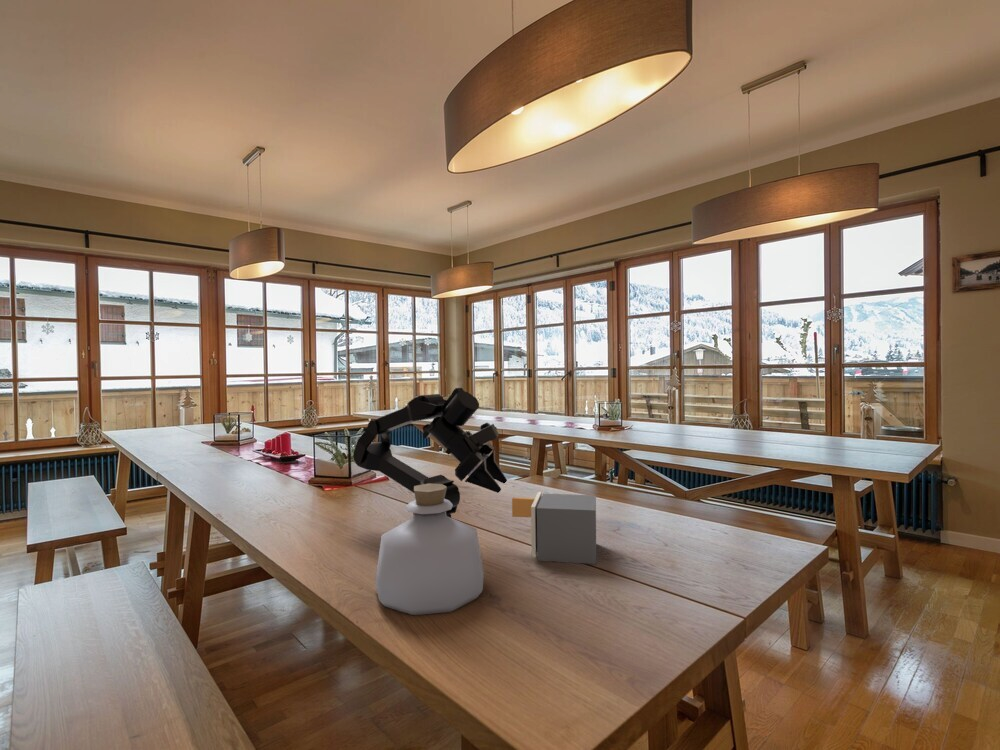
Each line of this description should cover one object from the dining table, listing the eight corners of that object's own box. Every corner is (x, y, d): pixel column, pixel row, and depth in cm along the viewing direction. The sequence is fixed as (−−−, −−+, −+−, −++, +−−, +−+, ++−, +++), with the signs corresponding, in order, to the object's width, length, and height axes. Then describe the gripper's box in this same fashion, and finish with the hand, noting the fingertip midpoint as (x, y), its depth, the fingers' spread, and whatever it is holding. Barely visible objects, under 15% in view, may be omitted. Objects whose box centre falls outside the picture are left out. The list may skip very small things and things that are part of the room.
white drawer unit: (508, 555, 105) (507, 505, 104) (517, 535, 117) (517, 490, 117) (588, 560, 101) (587, 509, 101) (589, 538, 114) (588, 493, 114)
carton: (537, 560, 104) (536, 508, 104) (543, 540, 116) (543, 493, 115) (596, 564, 102) (595, 510, 101) (596, 543, 113) (595, 495, 113)
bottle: (506, 581, 94) (505, 481, 94) (443, 629, 77) (441, 507, 77) (423, 561, 104) (422, 471, 104) (351, 600, 88) (349, 492, 87)
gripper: (468, 415, 103) (523, 468, 102) (484, 409, 122) (531, 454, 120) (432, 454, 104) (486, 507, 103) (454, 442, 123) (499, 486, 121)
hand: (502, 486), depth 112 cm, fingers open, 9 cm apart
